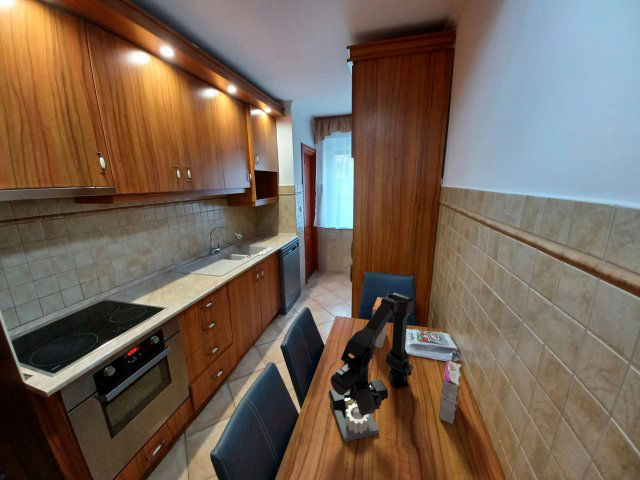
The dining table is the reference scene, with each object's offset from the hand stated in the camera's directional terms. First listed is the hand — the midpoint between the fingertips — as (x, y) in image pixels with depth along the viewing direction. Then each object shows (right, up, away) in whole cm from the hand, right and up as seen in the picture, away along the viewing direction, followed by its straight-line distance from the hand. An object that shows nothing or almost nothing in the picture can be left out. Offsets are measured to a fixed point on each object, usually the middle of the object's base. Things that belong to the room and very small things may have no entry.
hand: (357, 414), depth 82 cm
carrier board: (-1, -4, +4) cm, 6 cm away
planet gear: (0, -3, +1) cm, 3 cm away
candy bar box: (+34, -3, +7) cm, 34 cm away
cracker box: (+18, +6, +46) cm, 50 cm away
